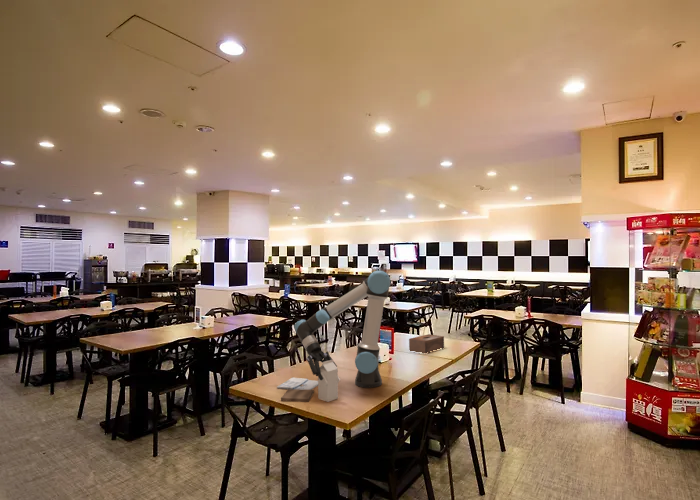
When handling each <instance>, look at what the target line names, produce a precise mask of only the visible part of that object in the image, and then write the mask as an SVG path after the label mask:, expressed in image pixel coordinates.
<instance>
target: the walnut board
mask: <svg viewBox="0 0 700 500" xmlns="http://www.w3.org/2000/svg"><path fill="white" fill-rule="evenodd" d="M314 393H315V389H312V390H302V389H286V391H285V392H284V394H283V395H282V397H281V398H280V402H302V403H303V402H304V403H309V402H310V401H311V399H312V397H313V395H314Z"/></svg>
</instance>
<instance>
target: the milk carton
mask: <svg viewBox="0 0 700 500" xmlns="http://www.w3.org/2000/svg"><path fill="white" fill-rule="evenodd" d="M333 361H334V360H333V359H332V360H329V361H325V362H323V363H322V365H320V373H321V372H322V373H323V374H324V376H325V378H326V380H327V382H328V384H327V386H324V385H323V383H322V381H321V380H320V379H319V377H318V376H317V381H318V386H317V388H318V389H317V392H318V393H317V395H318V396H317V398H318V400H321V401H324V402H328V403H329V402H331V401H335V400H337V399H339V382H338V376H339V373H338V372H339V370H338V366H337V367H336V365H337V364H336V363H335V364H336V365H335V364H334V363H333Z"/></svg>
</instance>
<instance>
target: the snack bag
mask: <svg viewBox="0 0 700 500" xmlns="http://www.w3.org/2000/svg"><path fill="white" fill-rule="evenodd" d="M316 387H318V380H314V379H313V380H312V379H308V378H303V377H302V378H301V377H294V376H292V377H291V378H289V379H287V380H286V381H284V382H283V383H281V384H279V385H277V386H276V388H277V389H280V390H288V389H302V390H314V388H316Z"/></svg>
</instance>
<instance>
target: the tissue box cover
mask: <svg viewBox="0 0 700 500" xmlns="http://www.w3.org/2000/svg"><path fill="white" fill-rule="evenodd" d="M440 348H444V349H445V336H443V335H437V334H436V335H435V334H429V333H428V334H424V335H419V336H416V337H415V336H414V337H410V338H408V351H409V350H410V351H416V352H422V353H427V352H430V351H433V350H437V349H440Z"/></svg>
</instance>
